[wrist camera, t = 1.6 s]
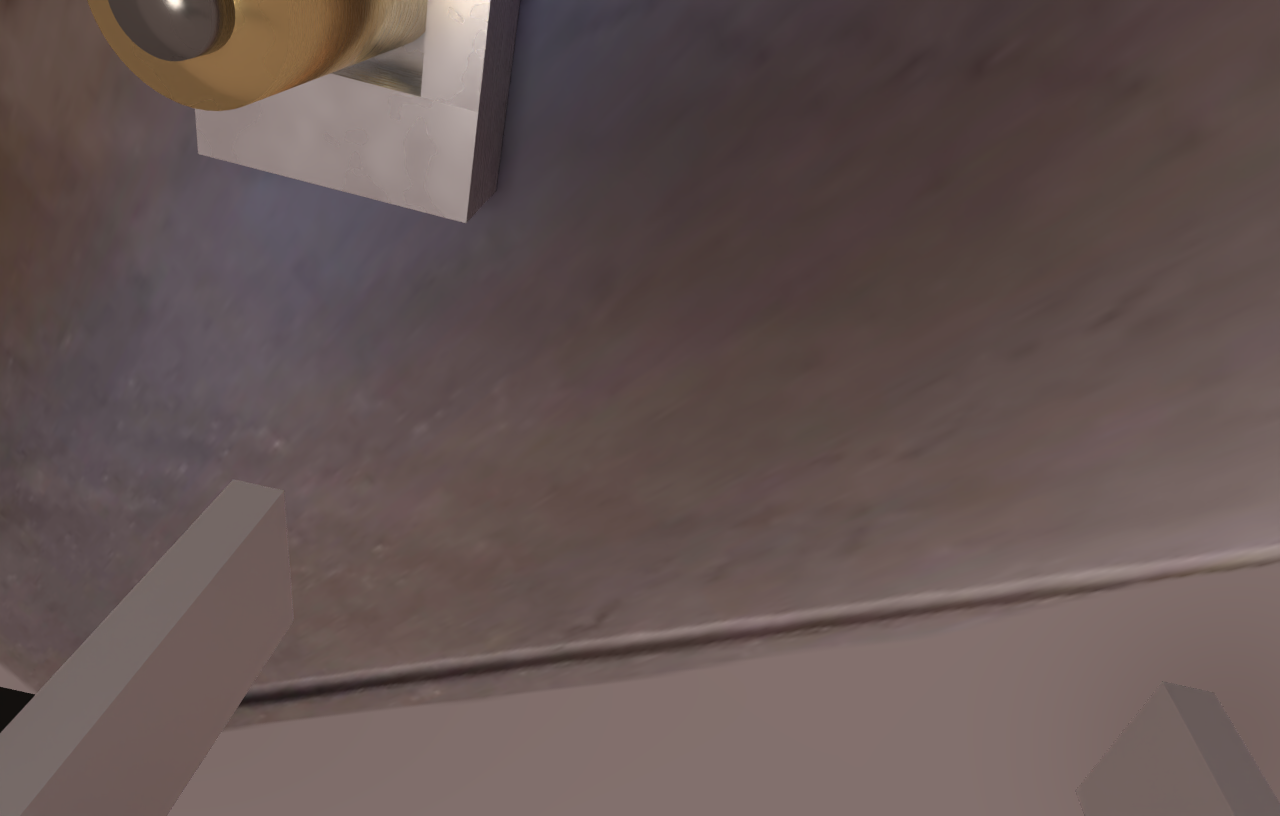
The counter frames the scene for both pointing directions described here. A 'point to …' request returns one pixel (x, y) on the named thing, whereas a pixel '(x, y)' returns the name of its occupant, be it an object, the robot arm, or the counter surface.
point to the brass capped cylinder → (250, 43)
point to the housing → (391, 117)
